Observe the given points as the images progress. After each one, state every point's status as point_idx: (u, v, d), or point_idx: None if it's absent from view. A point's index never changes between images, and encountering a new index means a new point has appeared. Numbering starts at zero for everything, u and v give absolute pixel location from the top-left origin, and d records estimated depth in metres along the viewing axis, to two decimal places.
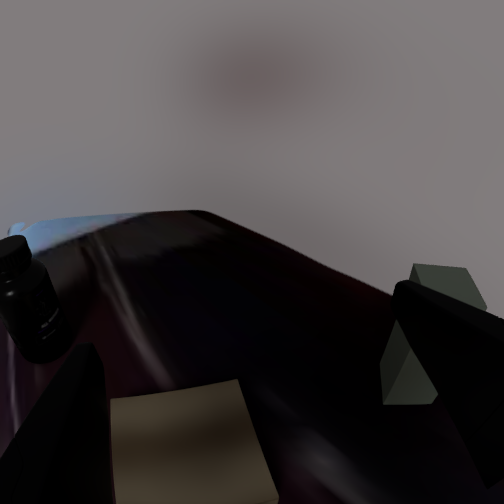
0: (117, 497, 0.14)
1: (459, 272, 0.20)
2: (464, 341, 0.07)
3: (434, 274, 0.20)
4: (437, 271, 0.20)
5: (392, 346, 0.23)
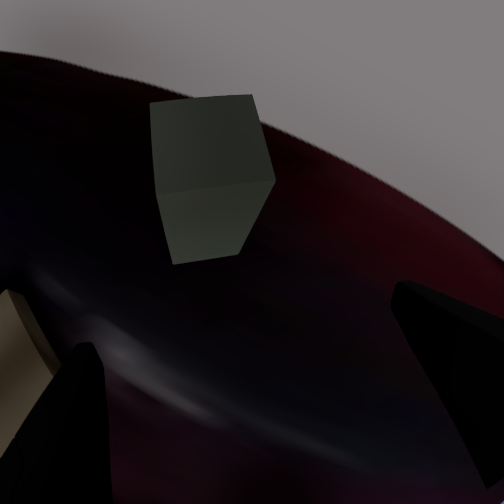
0: None
1: (235, 107, 0.13)
2: (464, 341, 0.07)
3: (183, 119, 0.12)
4: (191, 110, 0.13)
5: None
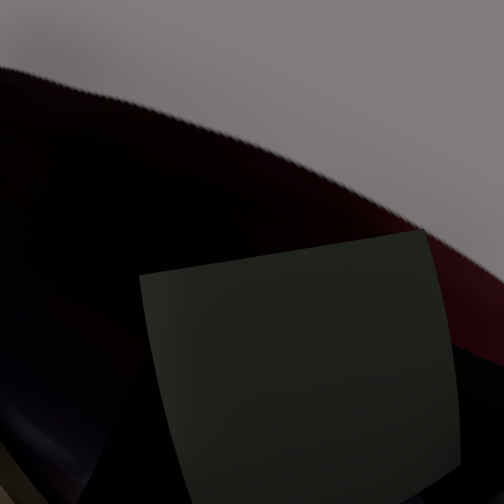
0: None
1: (398, 280, 0.05)
2: None
3: (261, 350, 0.04)
4: (283, 311, 0.04)
5: None
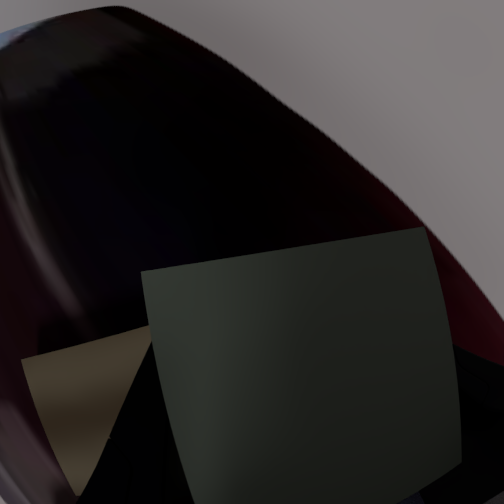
0: (66, 474, 0.14)
1: (398, 277, 0.05)
2: None
3: (262, 346, 0.04)
4: (285, 307, 0.04)
5: None
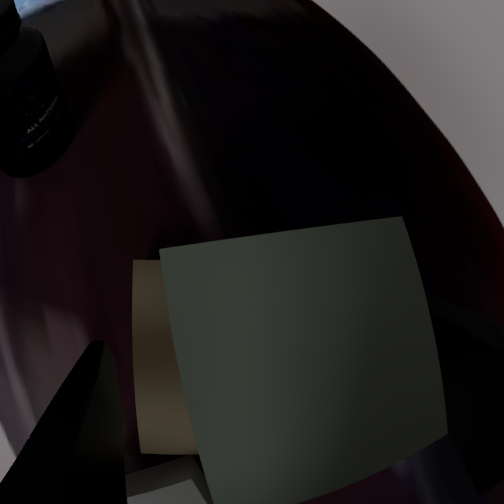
0: (139, 422, 0.13)
1: (378, 258, 0.06)
2: (455, 346, 0.07)
3: (260, 311, 0.05)
4: (279, 279, 0.05)
5: None
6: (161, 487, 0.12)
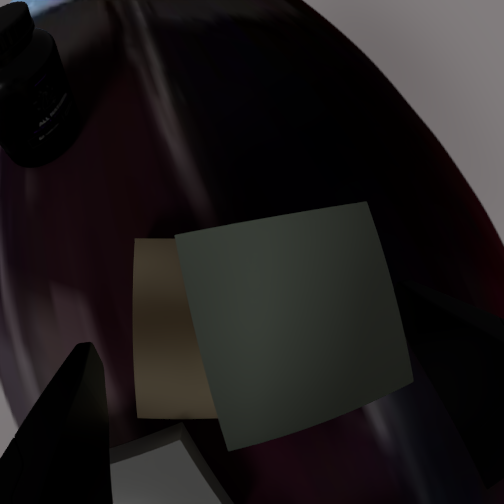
0: (137, 388, 0.15)
1: (345, 235, 0.07)
2: (464, 341, 0.07)
3: (253, 279, 0.07)
4: (266, 254, 0.07)
5: None
6: (152, 449, 0.14)
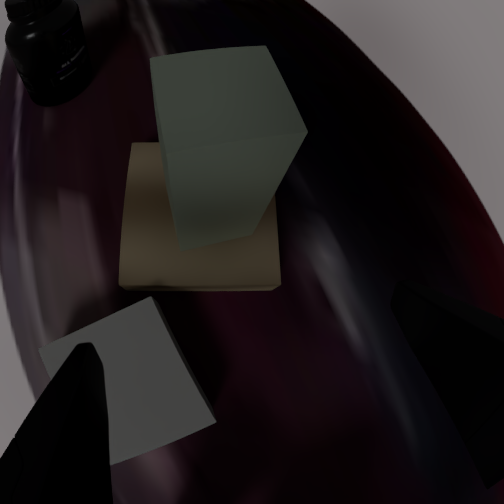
0: (121, 257, 0.19)
1: (249, 57, 0.11)
2: (464, 341, 0.07)
3: (191, 71, 0.10)
4: (200, 63, 0.10)
5: None
6: (126, 308, 0.17)
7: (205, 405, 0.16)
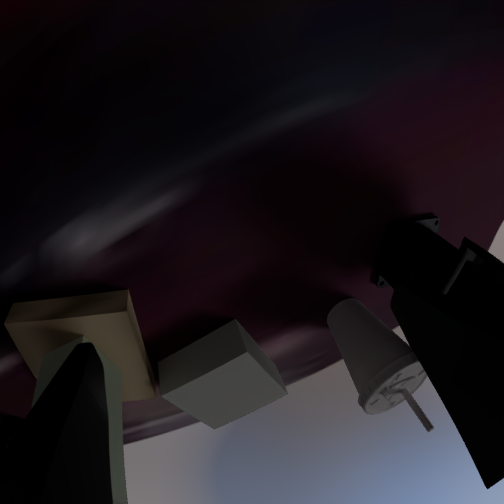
0: (137, 399, 0.24)
1: None
2: (464, 341, 0.07)
3: None
4: None
5: None
6: (173, 402, 0.24)
7: (234, 359, 0.23)
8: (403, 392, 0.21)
